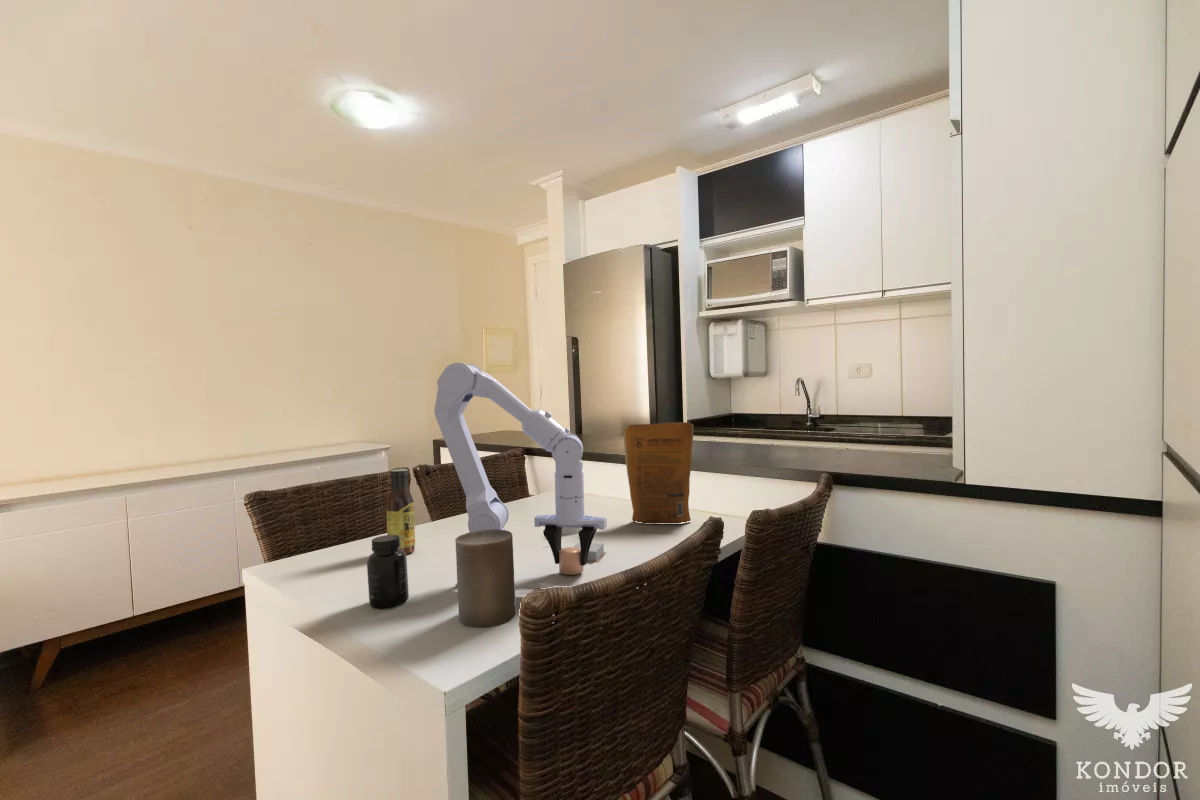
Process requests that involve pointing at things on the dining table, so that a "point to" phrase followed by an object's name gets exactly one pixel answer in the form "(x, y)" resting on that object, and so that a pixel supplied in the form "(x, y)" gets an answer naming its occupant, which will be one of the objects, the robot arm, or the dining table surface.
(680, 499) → the pancake mix bag
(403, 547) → the sauce bottle
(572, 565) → the terracotta cylinder
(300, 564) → the dining table surface
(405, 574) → the supplement bottle
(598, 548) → the slate top block
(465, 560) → the pillar candle
